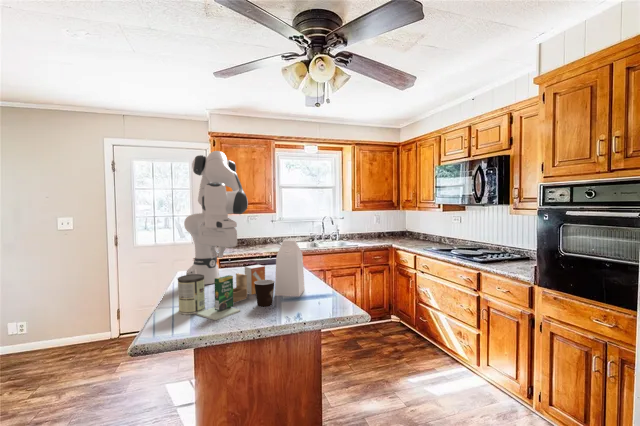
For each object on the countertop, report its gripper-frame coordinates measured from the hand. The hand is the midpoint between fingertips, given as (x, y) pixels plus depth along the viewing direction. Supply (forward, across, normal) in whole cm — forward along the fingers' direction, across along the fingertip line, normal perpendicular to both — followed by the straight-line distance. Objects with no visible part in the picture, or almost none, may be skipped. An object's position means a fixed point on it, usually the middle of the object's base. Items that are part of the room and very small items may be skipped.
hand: (217, 257), depth 128 cm
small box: (+23, -9, +29) cm, 38 cm away
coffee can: (+23, -12, -4) cm, 26 cm away
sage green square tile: (+23, 0, 0) cm, 23 cm away
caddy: (+23, -8, +14) cm, 28 cm away
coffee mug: (+23, +9, +19) cm, 31 cm away
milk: (+23, +6, +38) cm, 45 cm away
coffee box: (+22, 0, +3) cm, 22 cm away
